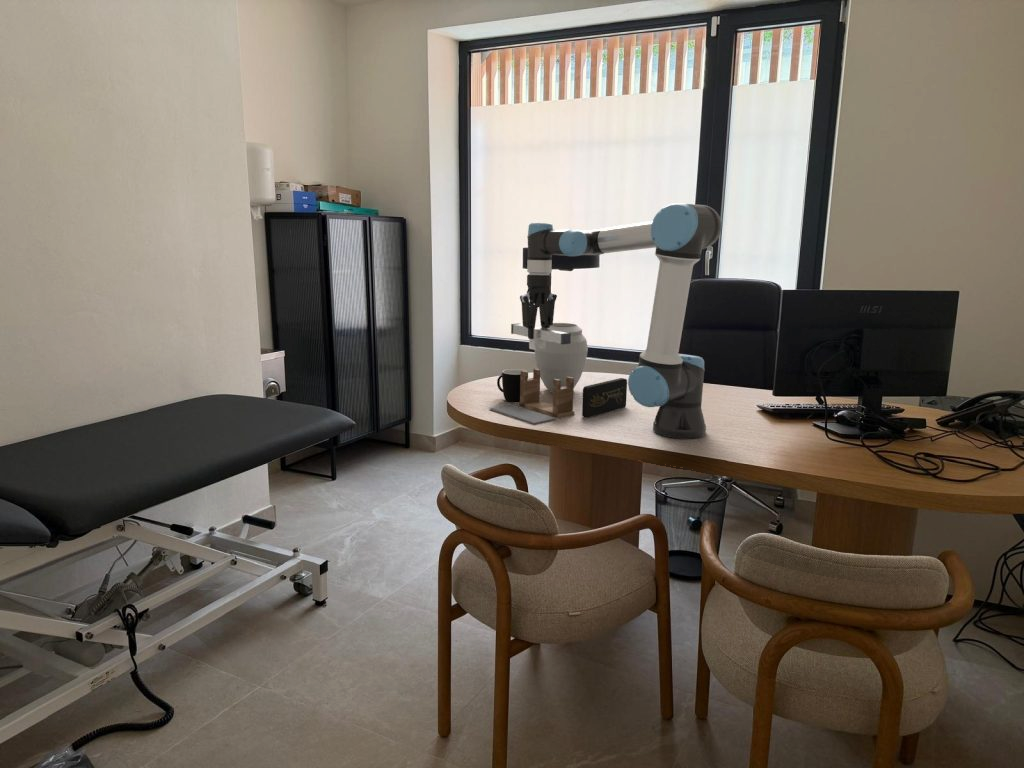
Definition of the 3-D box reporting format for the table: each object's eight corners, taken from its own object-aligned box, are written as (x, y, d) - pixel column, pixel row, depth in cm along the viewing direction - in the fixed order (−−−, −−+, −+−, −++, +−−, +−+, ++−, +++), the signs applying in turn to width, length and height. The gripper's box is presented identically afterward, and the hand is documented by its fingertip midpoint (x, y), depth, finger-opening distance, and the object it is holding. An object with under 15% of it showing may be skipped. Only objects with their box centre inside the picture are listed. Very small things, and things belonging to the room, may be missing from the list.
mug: (532, 400, 240) (533, 371, 238) (517, 404, 233) (517, 375, 231) (505, 394, 247) (505, 367, 245) (489, 399, 240) (489, 370, 238)
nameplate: (621, 406, 233) (622, 377, 231) (625, 407, 232) (627, 378, 230) (581, 417, 219) (582, 386, 216) (586, 418, 217) (587, 387, 215)
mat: (556, 420, 215) (556, 418, 215) (534, 424, 209) (534, 422, 209) (511, 406, 231) (511, 404, 231) (490, 410, 226) (490, 408, 226)
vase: (554, 382, 268) (556, 320, 262) (596, 390, 255) (599, 325, 250) (522, 391, 253) (523, 324, 248) (565, 399, 241) (567, 330, 236)
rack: (574, 415, 221) (575, 378, 218) (559, 418, 217) (560, 380, 214) (533, 402, 236) (534, 368, 233) (518, 405, 232) (519, 370, 229)
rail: (570, 343, 209) (570, 333, 209) (562, 344, 207) (562, 333, 207) (518, 332, 229) (519, 323, 228) (511, 333, 227) (511, 323, 226)
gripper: (551, 272, 222) (548, 344, 227) (511, 273, 213) (509, 349, 218) (566, 273, 216) (564, 348, 222) (526, 275, 207) (524, 352, 212)
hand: (537, 348), depth 220 cm, fingers closed on rail, 3 cm apart
